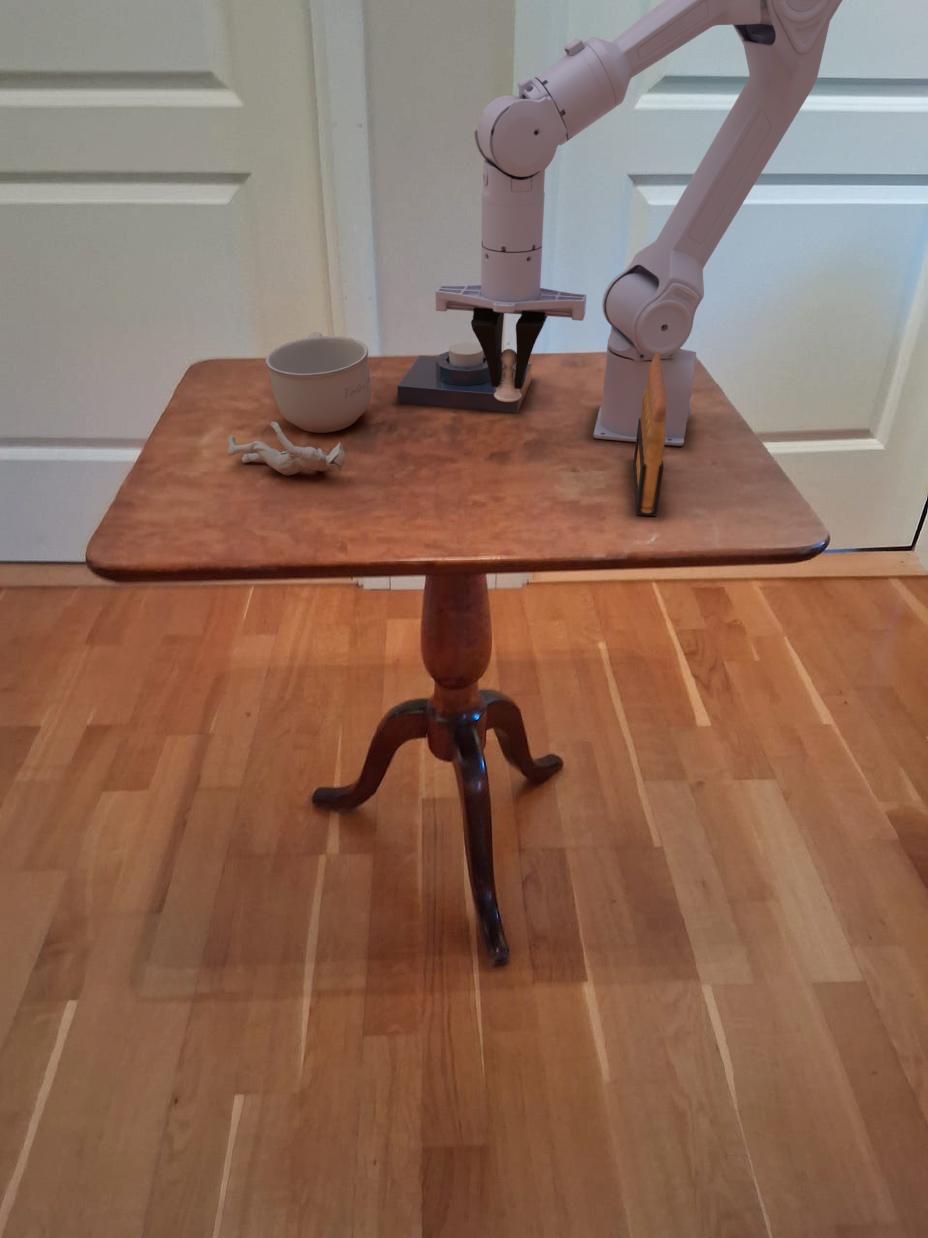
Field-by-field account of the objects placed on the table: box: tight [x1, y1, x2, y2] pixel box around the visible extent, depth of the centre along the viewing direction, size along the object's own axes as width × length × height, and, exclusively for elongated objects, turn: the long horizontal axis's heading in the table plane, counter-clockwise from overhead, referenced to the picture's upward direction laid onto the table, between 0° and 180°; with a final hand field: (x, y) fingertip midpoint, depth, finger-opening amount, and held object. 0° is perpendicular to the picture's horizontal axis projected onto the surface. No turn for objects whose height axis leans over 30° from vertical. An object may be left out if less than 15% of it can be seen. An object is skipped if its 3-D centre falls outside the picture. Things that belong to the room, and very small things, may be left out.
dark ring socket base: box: [396, 350, 533, 415], centre depth 105 cm, size 14×10×4 cm
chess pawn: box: [494, 348, 522, 402], centre depth 91 cm, size 3×3×5 cm
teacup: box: [265, 331, 372, 434], centre depth 98 cm, size 14×11×8 cm
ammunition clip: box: [632, 352, 667, 517], centre depth 83 cm, size 11×2×12 cm, turn 173°
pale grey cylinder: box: [448, 341, 483, 367], centre depth 104 cm, size 4×4×2 cm
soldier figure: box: [227, 421, 346, 476], centre depth 89 cm, size 8×5×12 cm
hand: (507, 384), depth 92 cm, fingers closed on chess pawn, 2 cm apart
